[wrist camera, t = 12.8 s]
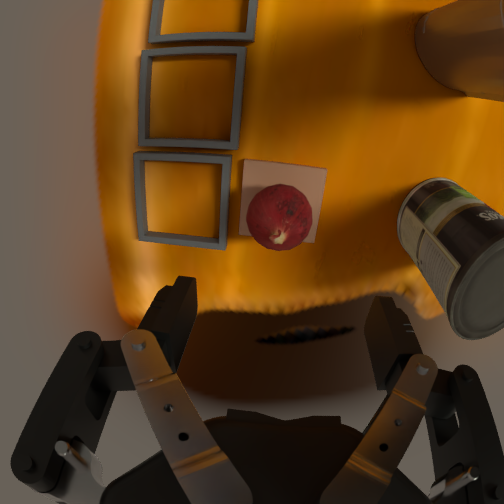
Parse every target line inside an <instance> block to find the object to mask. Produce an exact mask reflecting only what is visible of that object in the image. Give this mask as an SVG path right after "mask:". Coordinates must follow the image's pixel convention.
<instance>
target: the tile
mask: <svg viewBox="0 0 504 504" xmlns="http://www.w3.org/2000/svg"><path fill="white" fill-rule="evenodd" d="M326 174H327V169H326V168H320V167H313V166H306V165H298V164H290V163H282V162H273V161H264V160H254V159H244V169H243V182H242V196H241V209H240V224H239V235H247V236H252V235H251V234H250V232H249V229H248V226H247V222H246V215H247V210H248V206H249V204H250V202H251V201H252V199H253V198H254V196H255V195H256V194H257V193H258V192H260V191H261V190H263V189H264V188H266V187H268V186H272V185H276V184H285V185H290V186H294V187H295V188H296V189H298V190H299V191H301V192H302V193H303V194H304V195H305V196H306V198H307V200H308V202H309V204H310V206H311V207H312V219H313V222H312V226H311V229H310V231H309V234H308V236H307V237H306V238H305V239H304V240H303V242H309V243H314V241H315V236H316V231H317V225H318V220H319V215H320V209H321V204H322V198H323V192H324V186H325V180H326Z"/></svg>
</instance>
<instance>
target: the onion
mask: <svg viewBox="0 0 504 504" xmlns="http://www.w3.org/2000/svg"><path fill="white" fill-rule="evenodd" d="M246 222H247V226H248V229H249V232H250V234H251V235H252V236H253V237H254V239H255V240H256V241H257V242H258V243H259V244H261V245H262V246H264V247H266V248H267V249H272V250H277V251H281V250H290V249H292V248H294V247H296V246H298V245H299V244H301V243H302V242H303V240H304V239H305V238H306V237H307V236H308V234H309V231H310V229H311V226H312V222H313V219H312V207H311V206H310V204H309V202H308V200H307V198H306V196H305V195H304V194H303V193H302V192H301V191H299V190H298V189H296V188H295V187H294V186H290V185H285V184H276V185H272V186H268V187H266V188H264V189H263V190H261V191H260V192H258V193H257V194H256V195H255V196H254V198H253V199H252V201H251V202H250V204H249V206H248V210H247V215H246Z"/></svg>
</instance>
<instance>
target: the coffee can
mask: <svg viewBox="0 0 504 504" xmlns="http://www.w3.org/2000/svg"><path fill="white" fill-rule="evenodd" d="M397 233H398V238H399V240H400V243H401V245H402V246H403V248H404V249H405V250H406V251H407V252H408V254H409V255H410V257H411V258H412V260H413V261H414V263H415V264H416V266H417V267H418V269H419V270H420V272H421V273H422V275H423V277H424V278H425V280H426V281H427V283H428V285H429V286H430V288H431V289H432V291H433V293H434V294H435V296H436V298H437V299H438V301H439V303H440V304H441V306H442V308H443V310H444V311H445V313H446V315H447V317H448V319H449V322H450V325H451V327H452V329H453V331H454V332H455V333H456V334H457V335H458V336H459V337H461V338H463V339H467V340H477V339H482V338H485V337H488V336H490V335H492V334H494V333H496V332H498V331H499V330H501V329H502V328H504V217H503V216H501V215H500V214H499V213H497V212H496V211H495V210H493V209H492V208H490V207H489V206H488V205H486V204H485V203H483V202H482V201H481V200H479V199H478V198H476V197H475V196H473V195H472V194H471V193H469V192H467V191H466V190H465V189H463V188H462V187H460V186H459V185H458V184H457V183H455V182H453V181H452V180H449V179H446V178H433V179H429V180H426V181H424V182H422V183H420V184H419V185H417V186H416V187H415V188H414V189H413V190H412V191H411V192H410V193H409V194H408V195H407V197H406V198H405V200H404V202H403V203H402V205H401V208H400V211H399V214H398V219H397Z"/></svg>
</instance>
